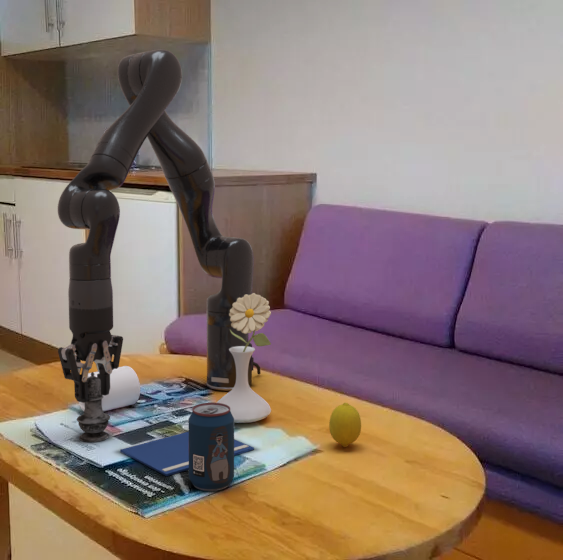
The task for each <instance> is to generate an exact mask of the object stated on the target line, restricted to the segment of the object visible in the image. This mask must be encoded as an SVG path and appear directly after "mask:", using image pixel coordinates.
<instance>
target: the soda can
mask: <svg viewBox="0 0 563 560" xmlns="http://www.w3.org/2000/svg"><path fill="white" fill-rule="evenodd" d="M191 411H192V412H191V413H190V416H189V417H188V432H189V470H188V479H189V480H190V482H191V484H192V486H193V487H194V488H196V489H197V490H200V491H205V492H215V491H221V490H224V489H226V488H228V487H229V486H230V484H231V483H232V481H233V479H234V478H235V456H234V439H235V423H234V417H233V415H232V413H231V412H230V407H229V406H228V405H226V404H222V403H217V402H204V403H199V404H196V405H194V406H193V407H192V410H191Z"/></svg>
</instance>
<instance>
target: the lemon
mask: <svg viewBox="0 0 563 560" xmlns="http://www.w3.org/2000/svg"><path fill="white" fill-rule="evenodd" d="M328 428H329V434H330V436H331V438H332V439H333V440H334V441H335V442H336V443H338V444H340V445H341V447H343V448H347V447H348V446H349V445H351V444H353V443H355V442H356V441H357V440H358V438H359V437H360V435H361V431H362V419H361V415H360V412H359V411H358V410H357V409H356V407H354V406H353V405H351V404H350V403H348V402H343V403H342V404H339V405H338V406H336V407H335V408H334V409H333V410H332V412H331V415H330V417H329V425H328Z"/></svg>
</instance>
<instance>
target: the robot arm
mask: <svg viewBox="0 0 563 560" xmlns="http://www.w3.org/2000/svg"><path fill="white" fill-rule="evenodd" d="M117 79H118V83H119V87H120V89H121V93H122V94H123V96H124V98H125V100H126V102H127V103H128V105H129V106H128V107H127V109H126V110H125V111H124V112H123V113H122V114H120V115H119V117H118V118H117V119H116V120H115V121H113V123H111V125H109V127H108V128H107V129H106V130H105V131H104V133H102V136H100V138H99V140H98V141H97V143H96V146H95V148H94V150H93V152H92V153H91V156H90V158H89V160H88V162H87V164H86V165H85V166H84V167H83V168H82V169H81V170H80V171H79V172H78V173H77V174H76V176H74V178H73V179H72V180H71V181H70V182H69V183H68V184H67V185H66V187H64V189H63V191H62V192H61V195H60V196H59V199H58V203H57V216H58V219H59V221H60V222H61V223H62V224H63V226H65V227H66V228H68V229H73V230H86V231H87V230H88V231H89V232H88V235H87V238H86V240H85V242H82V243H81V242H80V243H77V244H74V245H72V246H71V247H70V248H69V250H68V251H69V253H68V272H69V273H68V275H69V276H68V277H69V282H68V293H67V295H68V296H67V297H68V328H69V331H70V332H71V334H72V338H71V341H70V344H69V345H68V346H66V347H59V348H58V349H57V353H58V357H59V361H60V365H61V369H62V373H63V377H64V379H65V380H71V381H73V386H74V398H75V400H76V401H77V403H79V402H82V403H84V402H87V401H88V382H87V377H88V373H90V370H91V369H92V368H93V364H94V363H95V367H96V371H98V372H99V374H97V377H98V378H99V379H100V380H101V395H108V394H109V391H110V374H111V373H112V370H113V369H117V368H118V367H120V361H121V355H122V349H123V345H124V344H123V342H124V337H123V336H121V335H116V334H112V333H111V331H112V330H113V328H114V293H113V284H112V265H111V264H112V262H111V254H112V250H113V246H114V242H115V238H116V235H117V234H116V233H117V230H118V226H119V223H120V217H121V216H120V215H121V208H120V207H121V206H120V203H119V201H118V198H117V197H116V195H115V194H114V193H113V191H115V190H117V189H119V188H121V187H122V186H123V184H124V183H125V181H126V179H127V178H128V175H129V173H130V170H131V169H132V167H133V164H134V162H135V160H136V157H137V156H138V153H139V151H140V149H141V147H142V146H143V145H144V142H145V141H146V139H147V140H148V142H149V144H150V146H151V148H152V150H153V152H154V154H155V157H156V158H157V161H158V163H159V166H160V168H161V170H162V174H163V176H164V178H165V180H166V182H167V184H168V187H169V189H170V192H171V194H172V195H173V197H174V200H175V201H176V203H177V207H178V208H179V211H180V214H181V216H182V218H183V220H184V223H185V226H186V228H187V231H188V234H189V236H190V240H191V243H192V246H193V249H194V252H195V255H196V258H197V261H198V264H199V266H200V268H201V270H202V271H203V272H204V273H205V274H206V275H208V276H209V277H212V278H217V279H221V286H220V290H219V291H218V292H217V293H214V294H211V295H209V296H208V297H207V298H206V381H205V382H206V383H205V384H206V387H207V388H208V389H211V390H215V391H220V392H221V391H222V392H230V391H231V390H232V389H233V388H234V386H235V383H236V365H235V360H234V357H233V355H232V353H231V352H230V351H229V349H230V348H231V347H236V346H246V344H247V343H248V341H249V333H247V334H244V333H242V332H241V330H240V331H237V330H236V329H234V328H233V327H232V326H231V323H232V321H230V318H231V317H230V316H229V313H230V309H232V307H233V303H236V301H237V299H238V298H242V297H244V295H246V294H247V295H248V296H249V295H251V294H252V293H253V284H254V282H253V281H254V266H255V264H254V263H255V260H254V259H255V258H254V250H253V248H252V245H251V244H250V242H249V241H248V240H247V239H245V238H242V237H236V236H235V237H234V236H224V235H223V234H222V233H221V231H220V230H219V228H218V225H217V221H216V220H215V218H214V212H213V205H214V204H213V203H214V199H215V189H216V181H215V177H214V174H213V172H212V169H211V166H210V164H209V161H208V159H207V157H206V155H205V152H204V151H203V149H202V148H201V146H200V145H199V144H198V143H197V142H196V141H195V140H194V139H192V137H190V135H189V134H188V133H186V132H185V131H184V130H183V129H182V128H180V127H179V126H178V124H176V123H175V122H174V120H173V119H172V118H171V117H170V116H169V114H168V112H167V111H166V109H168V107H169V105H170V104H171V103H172V101H173V100H174V99H175V97H176V95H177V94H178V92H179V91H180V88H181V87H182V82H183V69H182V65H181V62H180V61H179V59H178V57H177V56H176V55H175V54H174V53H173V51H170V50H169V49H164V48H163V49H162V48H161V49H160V48H159V49H153V50H146V51H142V52H137V53H134V54H129V55H127V56H126V55H125V56H124V57H122V58H121V60H120V61H119V63H118V65H117ZM230 330H231V331H232V332H233V333H234V334H236V335H238V336H240V337H242V338H243V339H244V340H245V341H246V342H247V343H246V342H244V341H242V340H241V339H239V338H237V337H235V336H234V335H233V334H232V333H231V331H230ZM248 347H253V343H251V342H250V343H249V344H248ZM254 360H255V359H254V357H253V354H252V355H251V358H250V361H249V366H248V384H249V386H250V387H251V386H252V385H253V371H254V367H255V368H256V374H257V375H261V367H260V365H259V364H258V363H257V362H255V361H254ZM83 362H84V363H83Z"/></svg>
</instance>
